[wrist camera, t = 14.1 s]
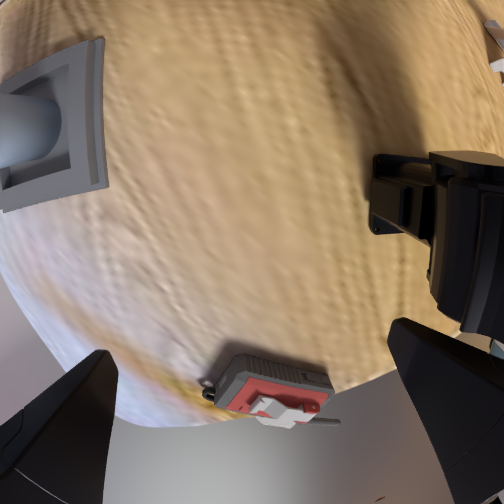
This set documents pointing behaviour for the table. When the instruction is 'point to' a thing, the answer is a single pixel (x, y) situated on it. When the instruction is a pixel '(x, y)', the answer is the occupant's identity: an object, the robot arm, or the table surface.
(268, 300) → the table surface
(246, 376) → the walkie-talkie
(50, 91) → the grey square recessed dock
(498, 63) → the portable electronic device stand
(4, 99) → the blue-grey rounded knob
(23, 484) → the robot arm
